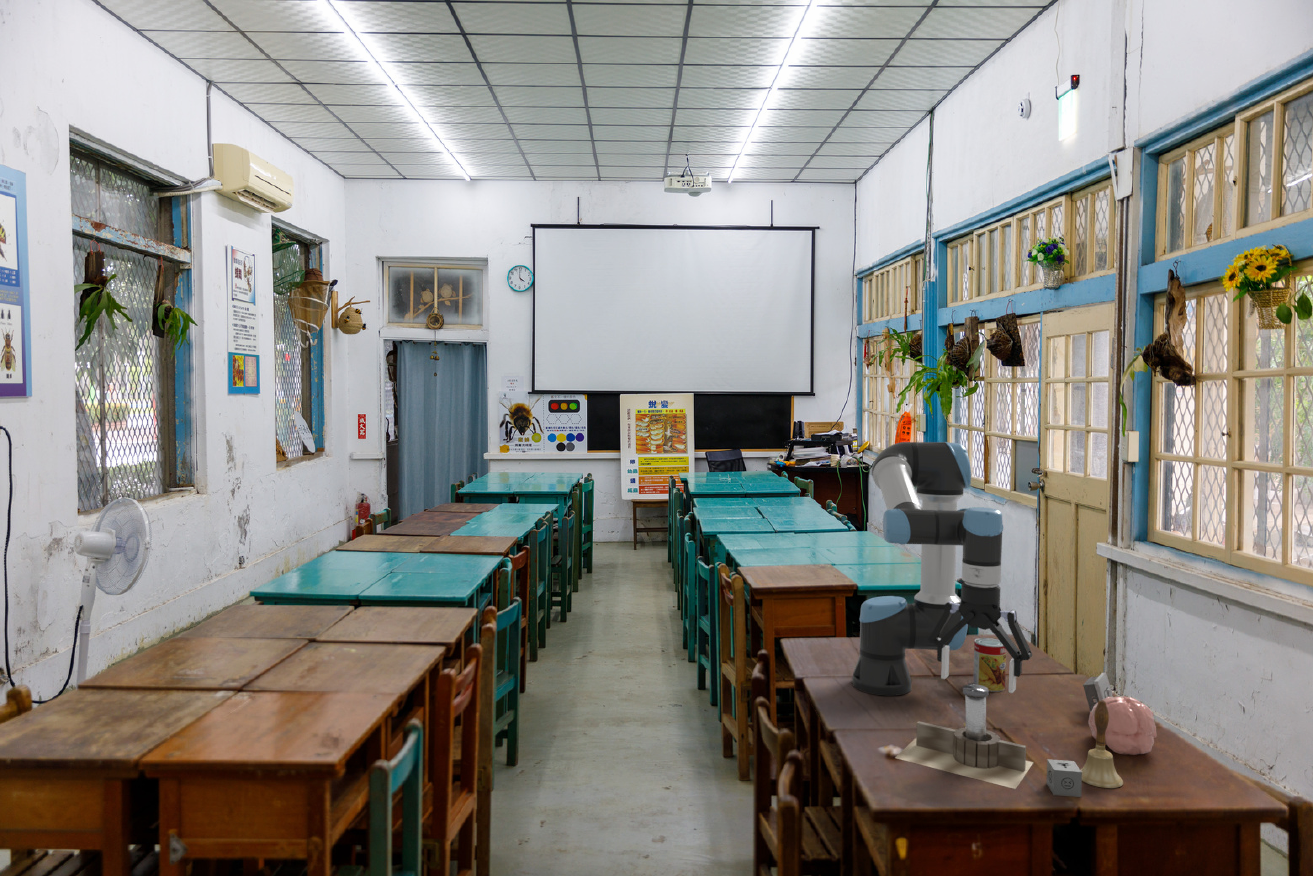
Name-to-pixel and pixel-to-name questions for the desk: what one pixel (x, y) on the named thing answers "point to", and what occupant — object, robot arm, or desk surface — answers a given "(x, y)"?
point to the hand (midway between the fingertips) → (977, 684)
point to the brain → (1127, 726)
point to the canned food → (989, 664)
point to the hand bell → (1101, 755)
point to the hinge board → (961, 769)
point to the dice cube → (1064, 778)
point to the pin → (975, 711)
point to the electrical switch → (1097, 689)
